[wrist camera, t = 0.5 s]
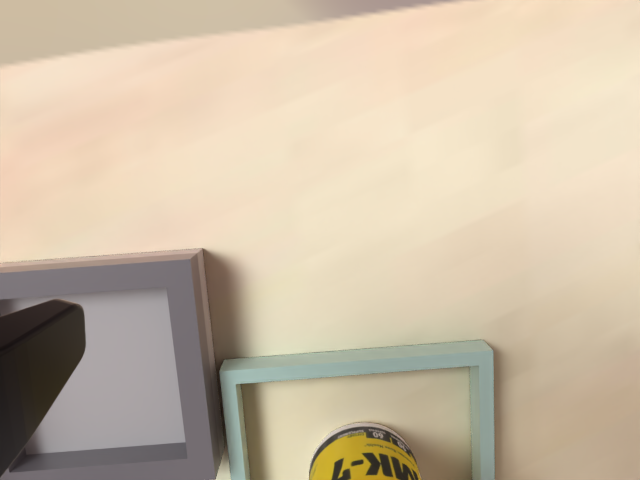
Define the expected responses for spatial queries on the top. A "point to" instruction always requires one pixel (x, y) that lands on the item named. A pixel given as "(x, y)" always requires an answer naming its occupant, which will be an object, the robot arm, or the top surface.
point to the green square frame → (356, 364)
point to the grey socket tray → (126, 369)
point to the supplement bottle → (363, 455)
